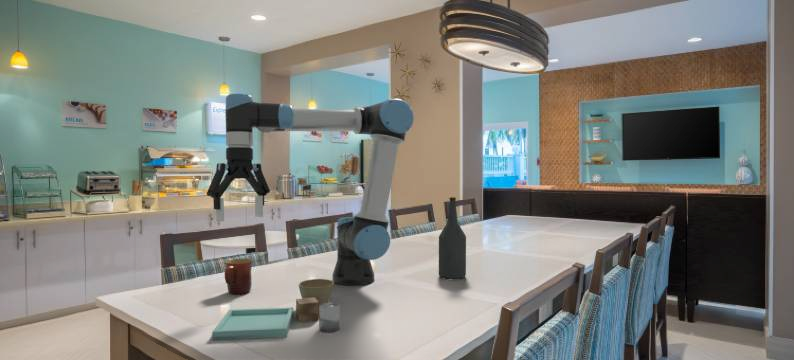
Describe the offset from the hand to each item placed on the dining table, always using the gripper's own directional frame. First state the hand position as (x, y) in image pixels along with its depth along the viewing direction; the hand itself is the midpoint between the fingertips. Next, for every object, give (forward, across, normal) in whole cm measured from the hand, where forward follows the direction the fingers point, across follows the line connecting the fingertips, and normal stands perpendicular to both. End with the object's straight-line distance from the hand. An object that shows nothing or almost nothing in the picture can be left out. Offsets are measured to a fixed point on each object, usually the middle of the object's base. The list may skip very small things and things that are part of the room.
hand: (240, 218), depth 135 cm
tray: (+25, +10, +20) cm, 34 cm away
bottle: (+26, -67, +36) cm, 80 cm away
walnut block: (+26, -2, +26) cm, 37 cm away
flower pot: (+26, -10, +21) cm, 35 cm away
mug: (+26, -6, -11) cm, 28 cm away
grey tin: (+26, +1, +36) cm, 45 cm away
